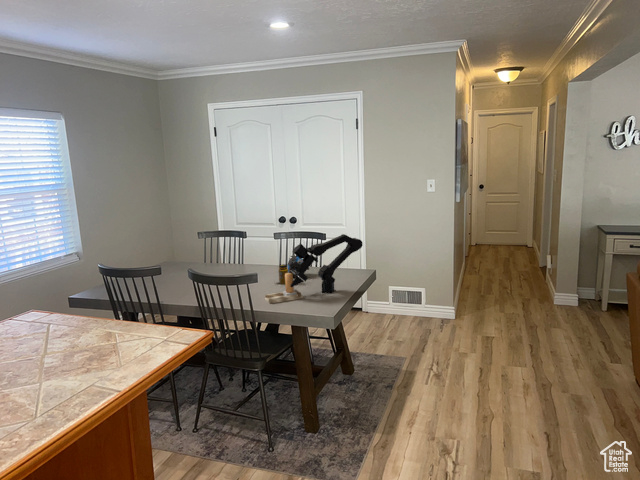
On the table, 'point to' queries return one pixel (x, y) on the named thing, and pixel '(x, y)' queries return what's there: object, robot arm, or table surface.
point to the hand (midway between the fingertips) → (288, 284)
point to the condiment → (282, 274)
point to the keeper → (288, 282)
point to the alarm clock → (294, 259)
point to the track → (282, 297)
